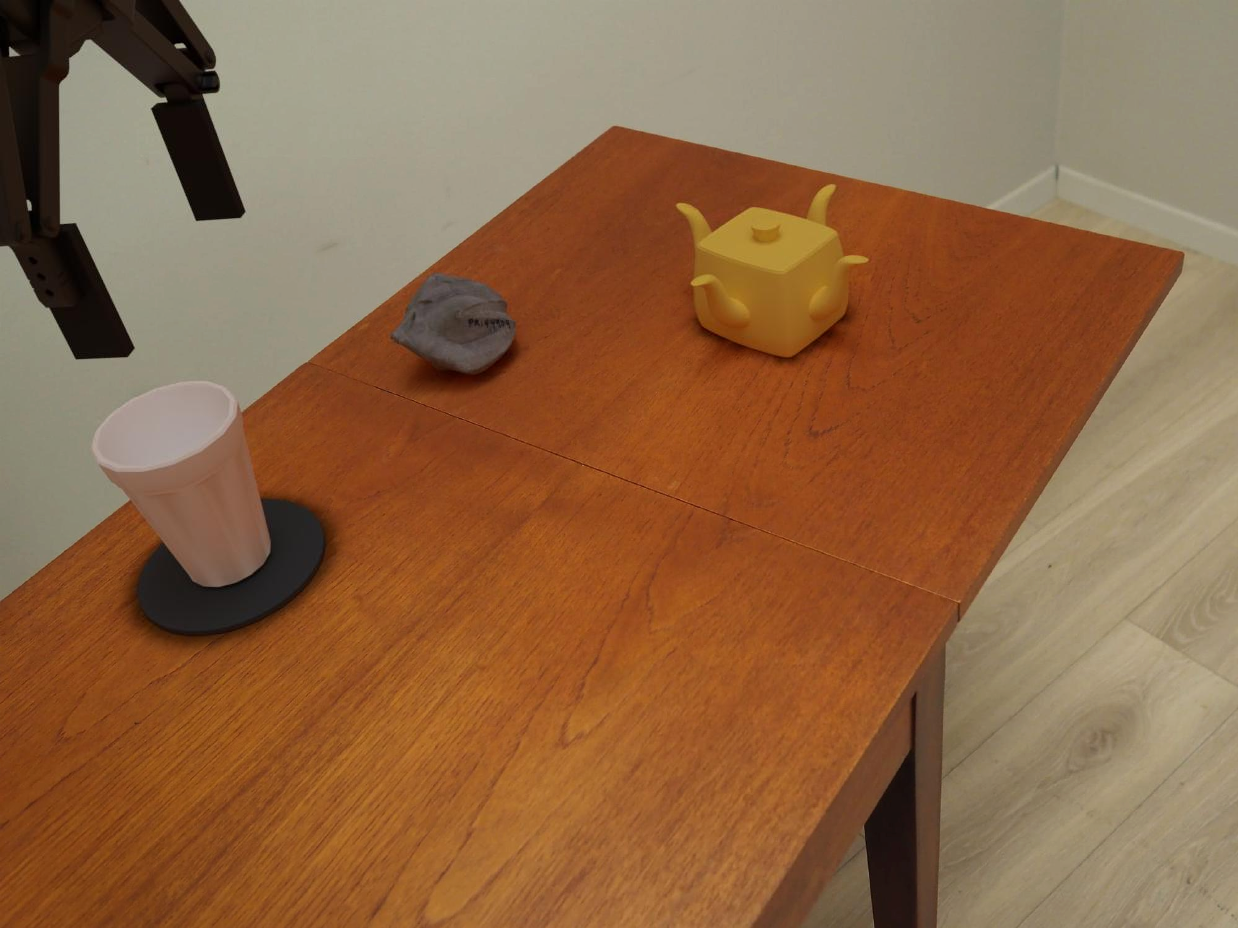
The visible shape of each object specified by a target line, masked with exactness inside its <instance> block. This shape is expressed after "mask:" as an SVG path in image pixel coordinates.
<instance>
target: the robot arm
mask: <svg viewBox="0 0 1238 928" xmlns="http://www.w3.org/2000/svg"><path fill="white" fill-rule="evenodd" d="M86 41H91V42H92V43H93V44H95V45H96V46H97V47H98V48H100V49H101V50H102V51H103V52H105V54H107V55H108V56H109V57H111V58H112V59H113V60H114V61H115V62H116V63H118V65H120V66H121V67H122V68H124V69H125V71H127V72H128V73H129V74H131V75H132V76H133V77H134V78H136V79H137V80H138V81H139V82H140V83H141V84H142V85H144V86H145V87H146V88H147V89H149V90H150V91H151V92H152V93H153V94H155V95H156V96H157V97H158V98H161V99H163V98H164V99H166V101H164V102H157V103H155V104H154V105H153V106H152V107H151V108H150V110H151V113H152V115H153V118H154V120H155V123H156V125H157V128H158V130H159V132H160V136H161V138H162V139H163V143H164V145H165V148H166V151H167V153H168V155H169V158H170V160H171V163H172V165H173V168H174V170H175V173H176V175H177V178H178V180H179V182H180V183H179V184H180V185H181V187H182V190H183V193H184V195H185V197H186V200H187V204H188V205H189V207H190V210H191V213H192V215H193V218H194V220H195V222H205V221H219V220H234V219H241V218H242V217H243V216H244V215H245V213H247V212H246V208H245V206H244V203H243V200H242V198H241V195H240V193H239V190H238V187H237V184H236V182H235V179H234V176H233V174H232V173H233V172H232V170H231V168H230V164H229V162H228V160H227V157H226V154H225V152H224V149H223V147H222V146H223V145H222V143H221V141H220V138H219V134H218V132H217V129H216V128H215V124H214V122H213V120H212V116H211V113H210V111H209V108H208V105H207V102H206V100H205V97H204V95H209V94H217V93H219V91H220V89H221V81H220V76H219V74H218V73H217V71H216V70H214V69H215V68H216V65H217V56H216V54H215V50H214V49H213V48H212V46H211V44H210V43H209V41H208V40H207V39H206V37H205V35H204V34H203V33H202V31H201V30H200V28H199V27H198V25H197V24H196V23H195V21H194V19H193V18H192V17H191V15H190V13H189V11H188V10H187V9H186V8H185V6H184V5H183V3H182V2H181V1H180V0H0V247H9V249H11V251H12V252H13V254H14V256H15V258H16V259H17V261H18V263H19V265H20V267H21V269H22V271H23V273H24V275H25V277H26V279H27V280H28V282H29V285H30V287H31V288H32V289H33V292H34V294H35V296H36V298H37V300H38V302H39V303H41V305H42V306H44V308H45V309H49V310H50V313H51V314H52V316H53V318H54V320H55V322H56V324H57V326H58V328H59V330H60V332H61V333H62V336H63V337H64V340H65V342H66V343H67V345H68V347H69V350H70V351H71V354H72V355H73V358H74V359H75V360H76V361H77V360H96V359H97V360H99V359H100V360H101V359H121V358H122V359H123V358H129V357H130V355H131V354H132V353H133V352H134V351H135V349H136V347H135V345H134V343H133V341H132V339H131V337H130V334H129V332H128V330H127V328H126V326H125V324H124V322H123V320H122V317H121V316H120V313H119V311H118V309H117V307H116V305H115V303H114V301H113V298H112V297H111V294H110V292H109V290H108V288H107V286H106V283H105V281H104V279H103V277H102V275H101V273H100V271H99V269H98V266H97V265H96V263H95V260H94V258H93V256H92V254H91V252H90V250H89V248H88V245H87V243H86V242H85V239H84V237H83V234H82V233H81V231H80V229H79V227H78V224H77V223H76V222H71V223H70V222H69V223H61V158H60V152H61V151H60V150H61V149H60V148H61V146H60V145H61V143H60V142H61V141H60V139H61V138H60V137H61V136H60V134H61V133H60V85H61V83H62V82H63V81H64V80H65V79H66V78H67V77H68V75H69V74H70V58H72V57H74V56H75V55H76V54H78V53H79V52H80V51H81V49H82V47H83V46H84V44H85V42H86ZM181 44H183V46H184V47H176V46H175V45H181ZM10 48H11V49H12V50H13V51H14V52H15V53H16V54H18V55H11V56H10ZM28 202H29V203H30V205H31V207H30V208H31V209H29V207H28Z"/></svg>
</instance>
